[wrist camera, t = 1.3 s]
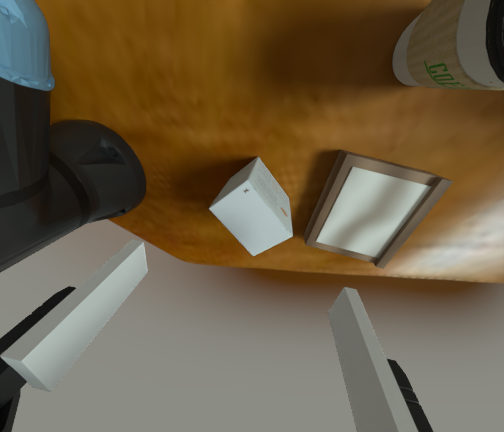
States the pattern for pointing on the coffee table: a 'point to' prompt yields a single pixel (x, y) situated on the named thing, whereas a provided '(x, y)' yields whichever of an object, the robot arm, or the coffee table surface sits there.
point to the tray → (371, 207)
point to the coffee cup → (453, 46)
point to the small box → (254, 208)
